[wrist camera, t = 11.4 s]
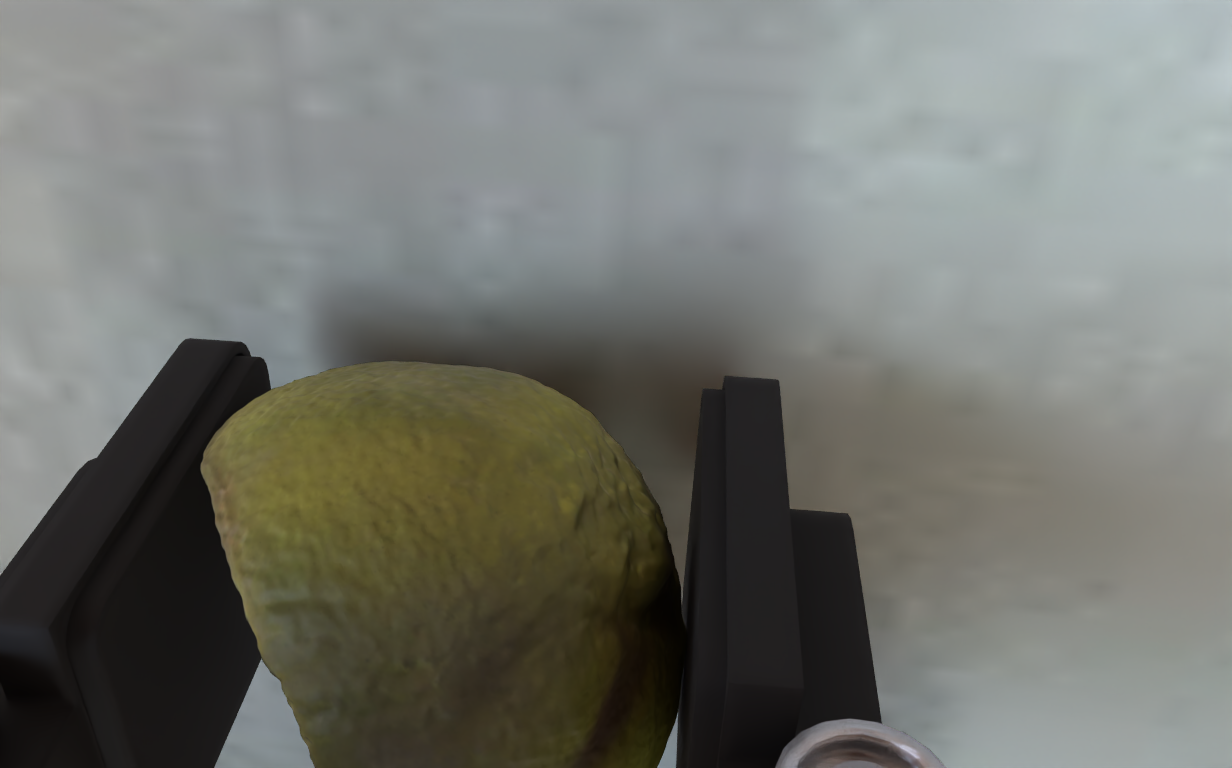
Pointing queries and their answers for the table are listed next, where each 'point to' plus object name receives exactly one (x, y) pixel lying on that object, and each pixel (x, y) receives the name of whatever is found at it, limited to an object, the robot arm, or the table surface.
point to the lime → (450, 570)
